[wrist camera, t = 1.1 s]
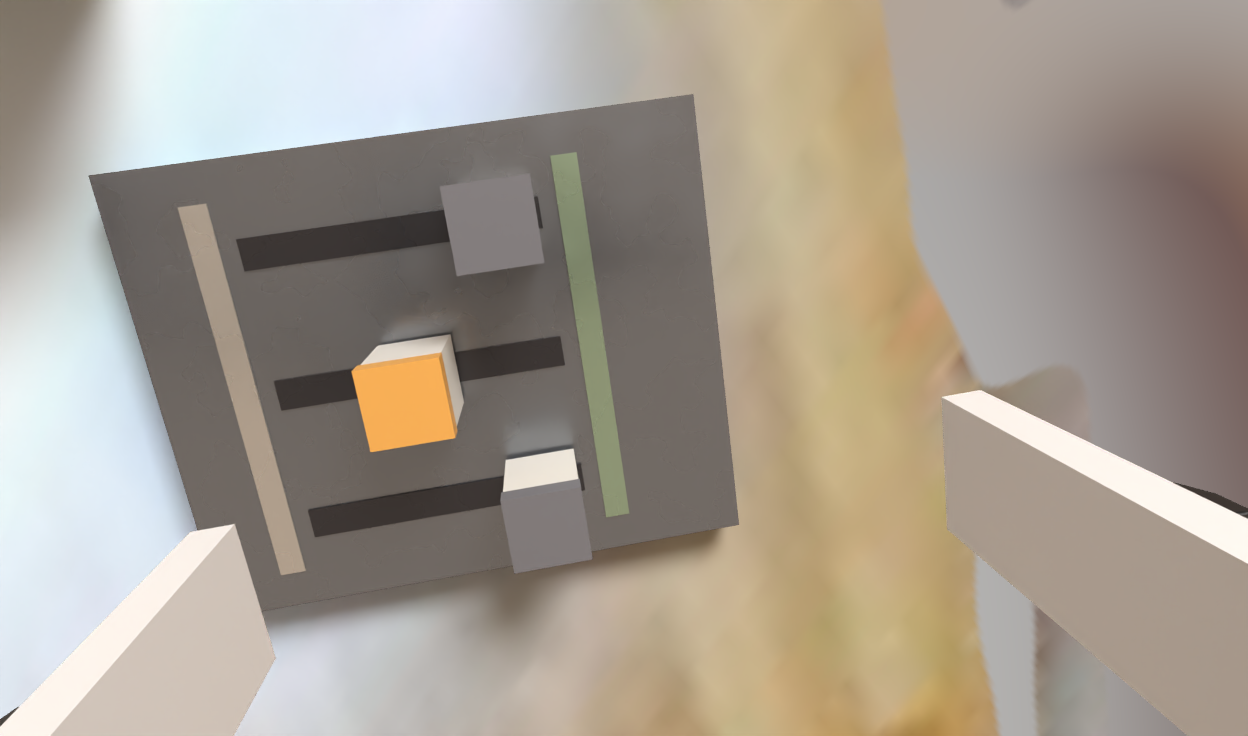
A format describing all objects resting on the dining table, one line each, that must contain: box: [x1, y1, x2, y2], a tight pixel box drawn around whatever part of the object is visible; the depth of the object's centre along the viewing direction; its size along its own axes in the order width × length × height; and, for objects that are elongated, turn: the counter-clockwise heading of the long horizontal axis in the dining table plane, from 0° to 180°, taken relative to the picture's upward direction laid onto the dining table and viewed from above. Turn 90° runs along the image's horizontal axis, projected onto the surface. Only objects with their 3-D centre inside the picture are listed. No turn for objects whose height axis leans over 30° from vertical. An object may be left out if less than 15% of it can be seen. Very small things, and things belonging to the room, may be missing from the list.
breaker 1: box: [440, 174, 544, 276], centre depth 27 cm, size 3×3×4 cm
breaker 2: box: [500, 449, 593, 574], centre depth 30 cm, size 3×3×4 cm
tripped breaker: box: [351, 334, 464, 452], centre depth 28 cm, size 3×3×4 cm
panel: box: [89, 94, 739, 611], centre depth 31 cm, size 22×18×2 cm
